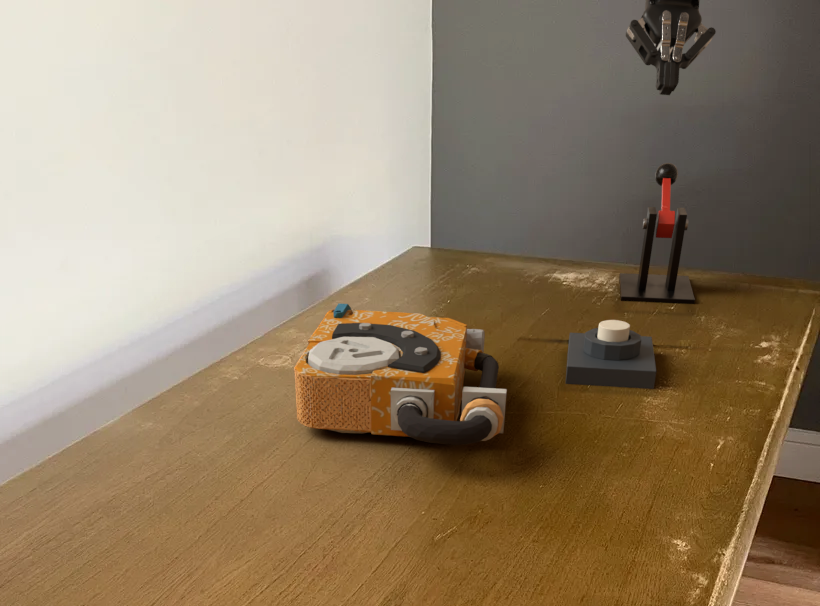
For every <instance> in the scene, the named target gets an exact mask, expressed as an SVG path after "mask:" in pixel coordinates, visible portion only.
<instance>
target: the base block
mask: <svg viewBox="0 0 820 606" xmlns="http://www.w3.org/2000/svg"><path fill="white" fill-rule="evenodd" d="M597 335H598V327H594V328H591V329H590V330H587V331H585V332H569V337H568V346H567V355H566V356H567V357H566V371H565V385H579V386H595V387H596V386H597V387H612V388H613V387H615V388H632V389H648V390H649V389H650V390H654V389H655V383H656V377H657V365H656V359H655V358H656V357H655V350H654V343H653V337H652V336H648V335H647V336H645V335H641V334H639V333H638V332H636V331H634V330H631V329H630V330H629V337H628V341H624V342H607V341H603V340H599V339H598V338H597Z"/></svg>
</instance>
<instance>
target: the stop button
mask: <svg viewBox="0 0 820 606" xmlns="http://www.w3.org/2000/svg"><path fill="white" fill-rule="evenodd" d="M597 328H598V335H597V338H598V339H599V340H603V341H607V342H624V341H628V337H629V330H631V324H629V322H626V321H624V320H623V321H622V320H619V319H606V320H602V321H600V322H599V323H598V327H597Z"/></svg>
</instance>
